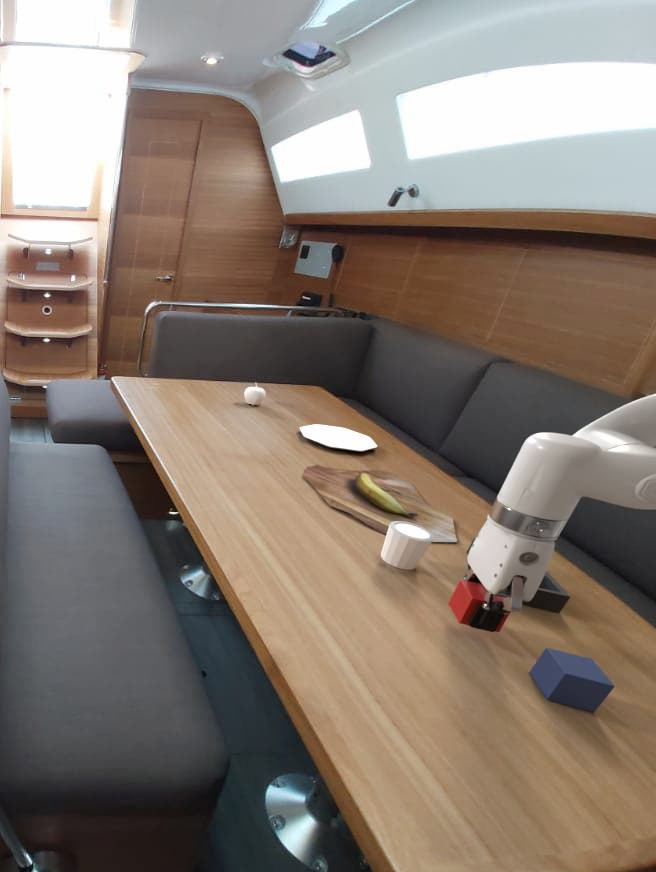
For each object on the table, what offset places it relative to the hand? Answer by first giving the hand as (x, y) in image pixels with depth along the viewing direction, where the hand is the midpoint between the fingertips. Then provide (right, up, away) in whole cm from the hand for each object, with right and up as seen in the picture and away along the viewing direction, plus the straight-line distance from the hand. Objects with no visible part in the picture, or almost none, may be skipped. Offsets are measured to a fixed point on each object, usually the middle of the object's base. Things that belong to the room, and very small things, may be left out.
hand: (473, 615), depth 79 cm
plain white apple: (+14, +46, +103) cm, 114 cm away
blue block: (+3, -8, -10) cm, 13 cm away
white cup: (+1, +5, +17) cm, 18 cm away
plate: (+25, +31, +73) cm, 83 cm away
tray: (+19, +3, +13) cm, 23 cm away
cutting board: (+13, +15, +39) cm, 44 cm away
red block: (0, 0, 0) cm, 0 cm away
